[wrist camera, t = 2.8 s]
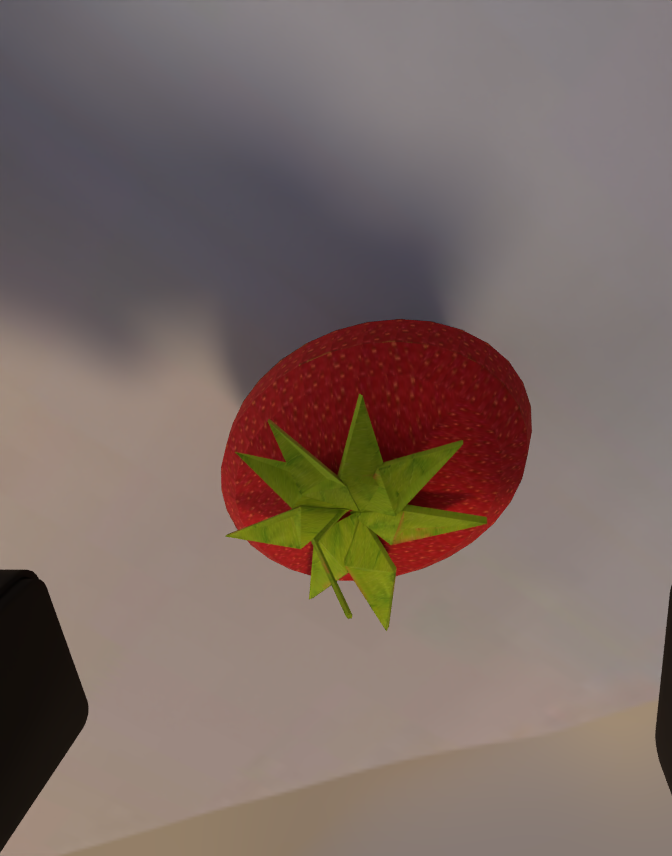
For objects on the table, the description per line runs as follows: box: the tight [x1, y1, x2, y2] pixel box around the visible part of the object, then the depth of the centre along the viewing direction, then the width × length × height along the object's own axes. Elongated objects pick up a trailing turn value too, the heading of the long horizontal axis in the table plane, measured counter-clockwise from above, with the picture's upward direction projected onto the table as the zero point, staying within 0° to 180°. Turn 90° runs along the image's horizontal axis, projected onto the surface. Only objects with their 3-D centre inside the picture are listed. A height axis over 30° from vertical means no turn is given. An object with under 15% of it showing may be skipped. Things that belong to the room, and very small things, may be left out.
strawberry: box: [221, 319, 532, 631], centre depth 14 cm, size 6×8×10 cm
